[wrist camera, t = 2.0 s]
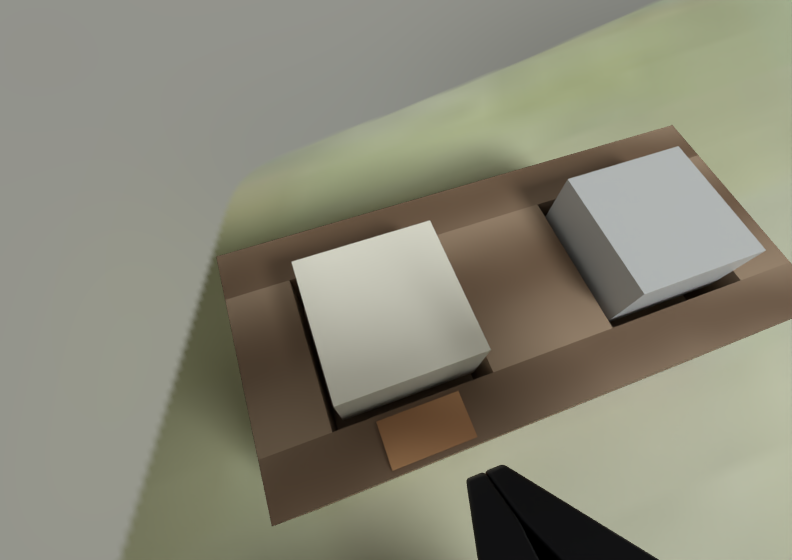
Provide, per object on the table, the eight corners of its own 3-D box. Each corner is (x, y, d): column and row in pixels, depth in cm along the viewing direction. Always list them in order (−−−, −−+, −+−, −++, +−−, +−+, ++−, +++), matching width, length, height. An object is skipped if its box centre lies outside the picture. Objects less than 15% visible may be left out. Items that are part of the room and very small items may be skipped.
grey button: (709, 285, 18) (766, 250, 15) (604, 324, 17) (644, 294, 14) (639, 191, 20) (678, 145, 17) (542, 222, 19) (567, 179, 17)
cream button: (473, 372, 16) (491, 350, 13) (342, 420, 15) (333, 407, 13) (423, 259, 18) (429, 220, 16) (306, 296, 17) (291, 261, 15)
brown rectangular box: (693, 358, 24) (831, 302, 16) (312, 511, 20) (270, 526, 13) (598, 218, 28) (674, 122, 20) (267, 324, 24) (214, 254, 17)
